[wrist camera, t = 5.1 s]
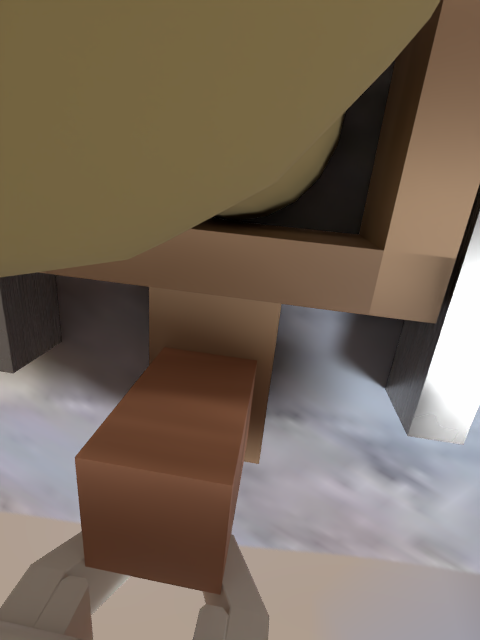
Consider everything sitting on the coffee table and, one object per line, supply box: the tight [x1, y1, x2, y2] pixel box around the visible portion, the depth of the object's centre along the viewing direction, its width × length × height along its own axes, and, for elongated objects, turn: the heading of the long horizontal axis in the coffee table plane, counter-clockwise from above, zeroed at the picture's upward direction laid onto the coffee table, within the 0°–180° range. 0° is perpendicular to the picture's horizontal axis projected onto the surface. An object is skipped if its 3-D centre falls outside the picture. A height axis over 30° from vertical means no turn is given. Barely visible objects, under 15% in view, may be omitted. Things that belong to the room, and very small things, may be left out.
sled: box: [38, 0, 480, 595], centre depth 8 cm, size 18×11×6 cm, turn 174°
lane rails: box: [0, 184, 480, 445], centre depth 9 cm, size 14×15×2 cm
